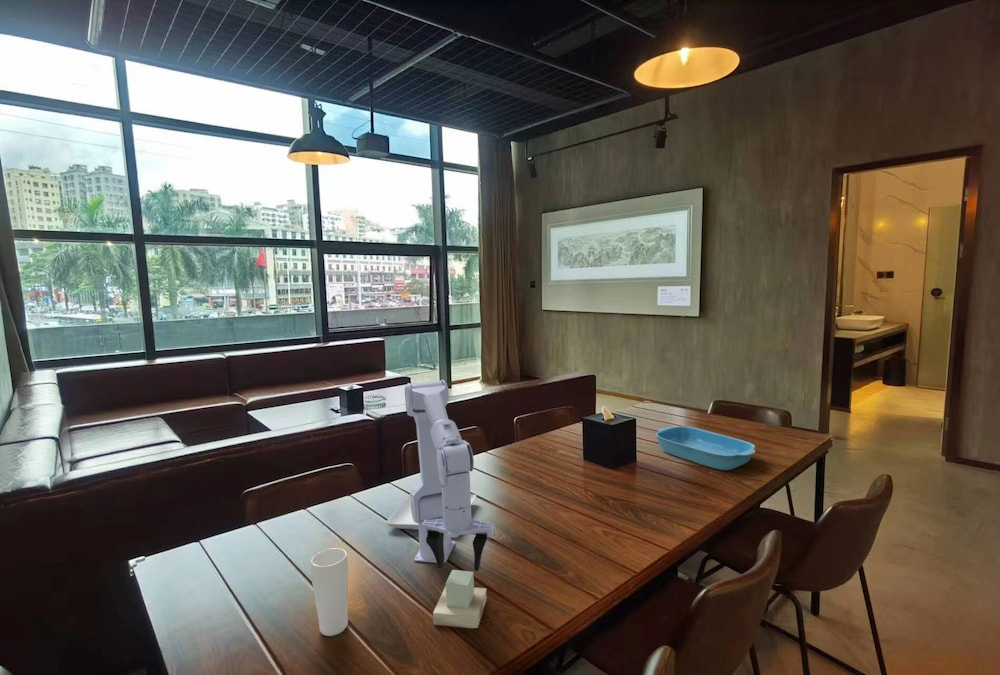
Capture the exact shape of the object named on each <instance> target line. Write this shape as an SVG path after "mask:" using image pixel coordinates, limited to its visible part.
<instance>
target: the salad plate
mask: <svg viewBox="0 0 1000 675" xmlns="http://www.w3.org/2000/svg"><path fill="white" fill-rule="evenodd" d="M411 493H412V491H411ZM411 493H409V495H408V496H407V497H406V498H405V500H404V501H403V502H401V504H400V505H399V507H397V509H396V510H395V511H394V512H393V513H392V514H391V516H389V518H387V520H386V521H385V523H386V524H387V525H388V526H389V527H391V528H393V529H394V528H395V529H400V530H401V529H403V530H414V531H416V530H417V531H419V527H418V523H415V522H414V521H413V518H412V512H411ZM470 494H471V493H470ZM476 499H477V495H476V494H471V506H472V505H473V504H474V502H475V500H476Z"/></svg>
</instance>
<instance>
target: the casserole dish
mask: <svg viewBox="0 0 1000 675" xmlns="http://www.w3.org/2000/svg"><path fill="white" fill-rule="evenodd" d="M655 434H656V438H657V441H658V444H659V446H660V448H661V450H662V451H664V452H665V453H666V454H670V455H671V456H674V457H678V458H680V459H682V460H683V459H684V460H686V461H690V462H691V463H692V462H693V463H695V464H698V465H700V466H701V465H702V466H705V467H707V468H712V469H715V470H720V471H730V470H734V469H736V468H738V467H741V466H744V465H745V464H747V463H748V462H749V461H750V460H751V457H752V456H753V455H754V454H756V450H755V448H756V445H755V444H753V443H751V442H749V441H747V440H746V441H745V440H742V439H739V438H736V437H732V436H728V435H724V434H721V433H716V432H713V431H709V430H705V429H702V428H699V427H698V428H697V427H693V426H684V425H683V426H681V425H680V426H668V427H667V426H666V427H662V428H660V429H658V431H657V432H656V433H655Z"/></svg>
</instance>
